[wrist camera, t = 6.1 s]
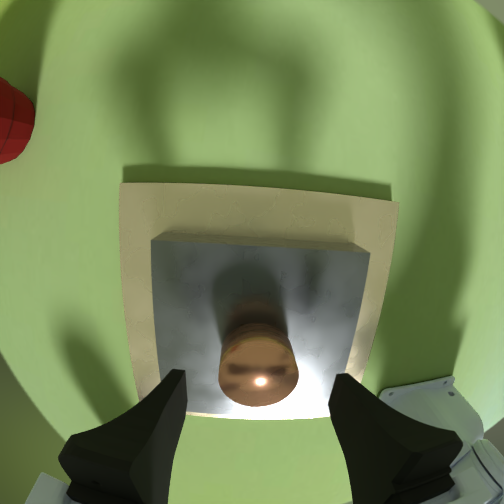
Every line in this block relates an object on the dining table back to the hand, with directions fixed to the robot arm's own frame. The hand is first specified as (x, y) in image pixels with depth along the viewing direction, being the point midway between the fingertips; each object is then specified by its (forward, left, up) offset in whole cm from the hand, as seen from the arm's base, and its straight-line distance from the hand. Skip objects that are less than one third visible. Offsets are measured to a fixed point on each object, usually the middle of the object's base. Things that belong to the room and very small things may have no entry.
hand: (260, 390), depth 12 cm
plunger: (0, 0, -7) cm, 7 cm away
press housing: (0, 0, -8) cm, 8 cm away
